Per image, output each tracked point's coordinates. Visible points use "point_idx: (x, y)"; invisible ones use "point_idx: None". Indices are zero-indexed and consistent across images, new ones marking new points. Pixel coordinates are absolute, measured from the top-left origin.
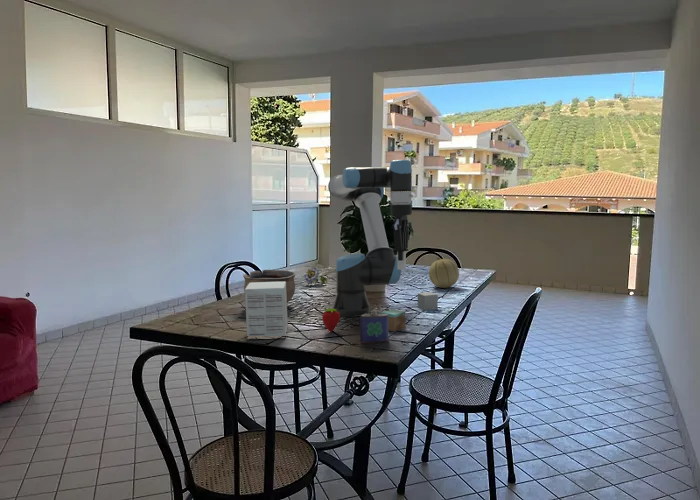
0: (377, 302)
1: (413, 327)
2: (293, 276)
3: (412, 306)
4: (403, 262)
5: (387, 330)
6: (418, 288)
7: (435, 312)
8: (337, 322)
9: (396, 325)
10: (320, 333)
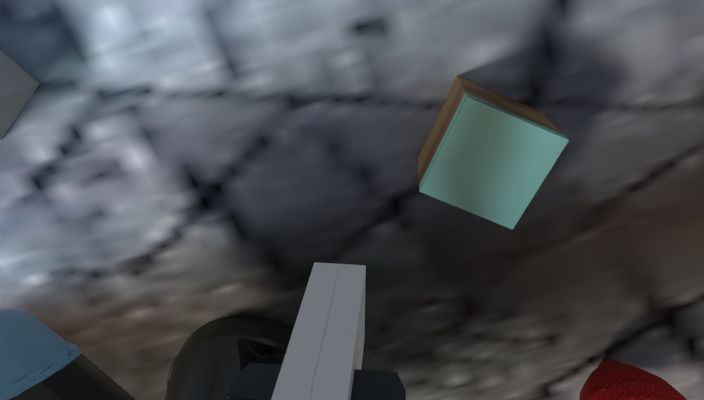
0: None
1: (434, 34)
2: None
3: (7, 168)
4: (356, 337)
5: None
6: None
7: (56, 4)
8: (641, 372)
9: (532, 113)
10: None
